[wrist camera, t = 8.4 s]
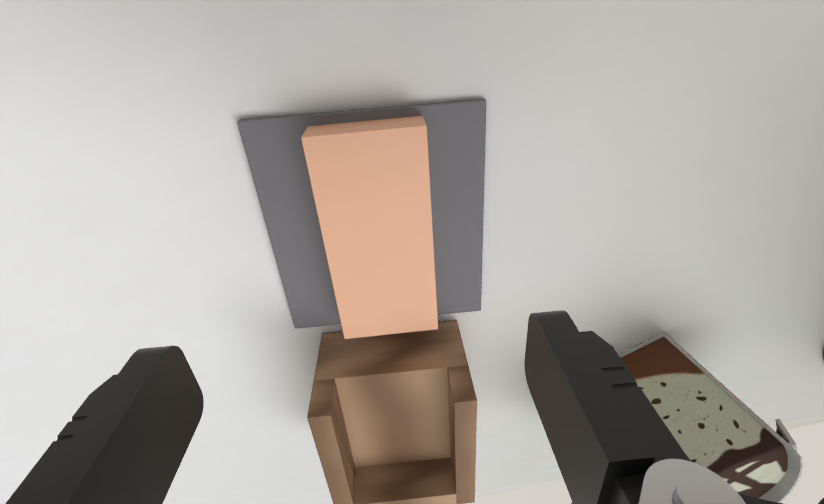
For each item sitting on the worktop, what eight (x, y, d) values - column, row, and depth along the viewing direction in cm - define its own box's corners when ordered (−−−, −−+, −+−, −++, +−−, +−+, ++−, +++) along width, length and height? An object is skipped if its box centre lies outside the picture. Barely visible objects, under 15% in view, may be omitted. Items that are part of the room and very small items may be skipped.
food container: (561, 435, 35) (621, 575, 26) (529, 397, 32) (584, 540, 23) (706, 370, 32) (827, 504, 23) (684, 321, 29) (813, 453, 20)
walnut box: (456, 320, 27) (477, 400, 22) (458, 417, 33) (474, 502, 27) (321, 333, 27) (307, 417, 22) (344, 429, 32) (337, 517, 27)
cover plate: (422, 115, 20) (426, 125, 18) (434, 308, 26) (438, 329, 25) (307, 126, 20) (301, 137, 18) (346, 317, 26) (344, 339, 24)
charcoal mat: (484, 99, 20) (486, 101, 20) (479, 306, 27) (480, 310, 27) (239, 119, 20) (237, 121, 20) (296, 324, 27) (294, 328, 26)
